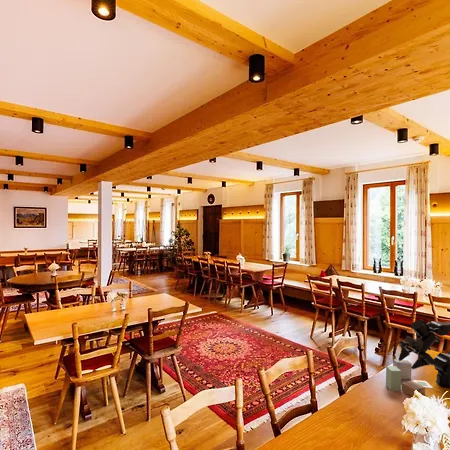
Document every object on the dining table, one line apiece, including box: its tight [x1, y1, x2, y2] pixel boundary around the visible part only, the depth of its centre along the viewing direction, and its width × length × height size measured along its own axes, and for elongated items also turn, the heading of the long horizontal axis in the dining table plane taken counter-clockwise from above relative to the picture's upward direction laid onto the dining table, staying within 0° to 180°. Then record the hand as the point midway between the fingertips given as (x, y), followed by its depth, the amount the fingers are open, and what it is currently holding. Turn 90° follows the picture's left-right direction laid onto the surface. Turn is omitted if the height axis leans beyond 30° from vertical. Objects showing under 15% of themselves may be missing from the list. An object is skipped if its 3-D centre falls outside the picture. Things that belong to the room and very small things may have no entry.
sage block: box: [385, 365, 402, 392], centre depth 159 cm, size 5×5×10 cm
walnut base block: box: [401, 380, 426, 397], centre depth 155 cm, size 7×7×4 cm
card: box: [411, 379, 434, 389], centre depth 163 cm, size 7×7×1 cm
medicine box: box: [392, 358, 413, 380], centre depth 171 cm, size 8×4×9 cm, turn 84°
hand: (405, 364), depth 159 cm, fingers open, 9 cm apart
